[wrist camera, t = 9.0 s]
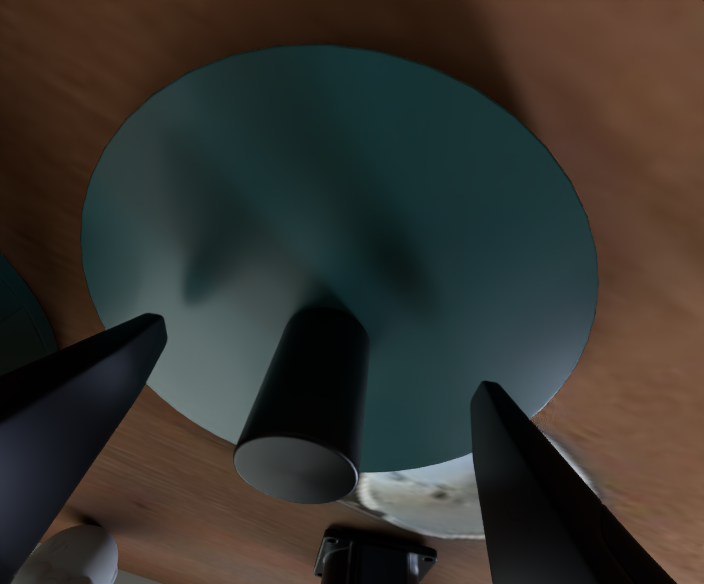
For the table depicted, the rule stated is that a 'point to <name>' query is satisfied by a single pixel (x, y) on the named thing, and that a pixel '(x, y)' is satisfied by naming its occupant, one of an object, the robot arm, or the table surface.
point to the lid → (338, 259)
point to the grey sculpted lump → (72, 558)
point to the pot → (21, 323)
